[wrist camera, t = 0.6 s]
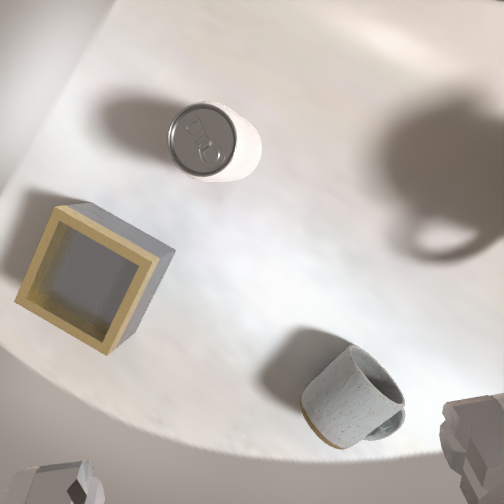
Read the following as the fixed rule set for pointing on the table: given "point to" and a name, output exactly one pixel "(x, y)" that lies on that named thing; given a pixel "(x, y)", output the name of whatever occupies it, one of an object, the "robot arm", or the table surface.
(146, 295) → the drawer
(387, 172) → the table surface
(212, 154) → the can
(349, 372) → the ceramic mug
